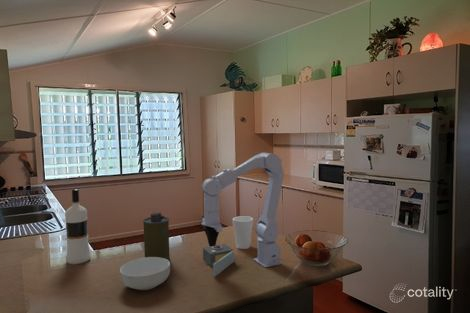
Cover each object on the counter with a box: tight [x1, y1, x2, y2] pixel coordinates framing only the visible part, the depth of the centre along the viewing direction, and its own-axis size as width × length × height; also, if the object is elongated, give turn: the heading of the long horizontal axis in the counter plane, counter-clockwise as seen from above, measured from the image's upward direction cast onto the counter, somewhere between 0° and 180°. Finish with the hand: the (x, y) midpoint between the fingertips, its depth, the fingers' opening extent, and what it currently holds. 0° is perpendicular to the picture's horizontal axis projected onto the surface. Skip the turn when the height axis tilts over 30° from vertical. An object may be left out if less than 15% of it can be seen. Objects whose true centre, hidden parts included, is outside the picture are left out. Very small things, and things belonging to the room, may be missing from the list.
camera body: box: [202, 243, 234, 267], centre depth 138 cm, size 8×10×6 cm
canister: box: [142, 211, 171, 262], centre depth 139 cm, size 11×10×20 cm
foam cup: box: [232, 215, 254, 250], centre depth 155 cm, size 10×9×13 cm
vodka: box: [64, 188, 91, 265], centre depth 140 cm, size 9×9×30 cm
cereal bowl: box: [119, 256, 171, 291], centre depth 117 cm, size 17×17×7 cm
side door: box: [212, 250, 235, 277], centre depth 130 cm, size 1×15×4 cm, turn 152°
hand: (212, 245), depth 129 cm, fingers closed
